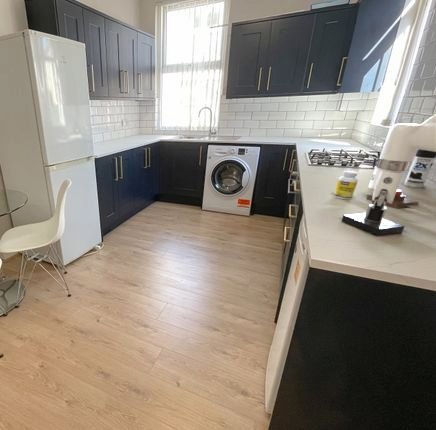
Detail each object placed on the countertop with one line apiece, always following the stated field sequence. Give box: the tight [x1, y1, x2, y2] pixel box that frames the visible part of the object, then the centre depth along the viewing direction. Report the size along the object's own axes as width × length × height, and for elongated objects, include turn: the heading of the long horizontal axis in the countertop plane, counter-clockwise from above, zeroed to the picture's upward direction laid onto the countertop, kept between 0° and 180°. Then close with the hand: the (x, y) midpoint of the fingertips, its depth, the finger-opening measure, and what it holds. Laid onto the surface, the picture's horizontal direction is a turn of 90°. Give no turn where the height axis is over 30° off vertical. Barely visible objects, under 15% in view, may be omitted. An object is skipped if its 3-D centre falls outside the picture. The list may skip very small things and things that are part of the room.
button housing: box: [366, 193, 420, 210], centre depth 116 cm, size 12×10×4 cm
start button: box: [395, 188, 403, 196], centre depth 115 cm, size 4×4×2 cm
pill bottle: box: [333, 170, 359, 200], centre depth 121 cm, size 6×6×12 cm
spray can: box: [403, 149, 436, 188], centre depth 134 cm, size 7×7×20 cm
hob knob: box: [364, 203, 388, 223], centre depth 93 cm, size 4×4×5 cm
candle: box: [368, 166, 380, 190], centre depth 131 cm, size 6×6×15 cm
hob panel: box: [340, 212, 405, 237], centre depth 94 cm, size 12×10×3 cm
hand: (374, 216), depth 93 cm, fingers open, 9 cm apart
